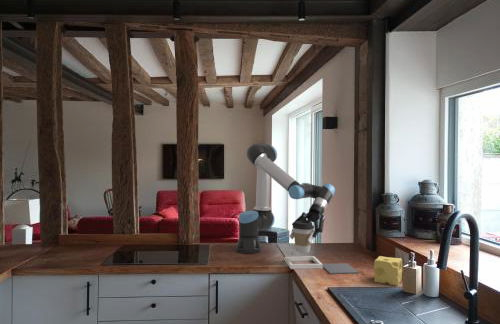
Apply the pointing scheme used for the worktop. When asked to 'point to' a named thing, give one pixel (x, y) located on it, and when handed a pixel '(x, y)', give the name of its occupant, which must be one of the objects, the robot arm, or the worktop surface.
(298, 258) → the holder frame
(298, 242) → the coffee cup
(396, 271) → the cheese
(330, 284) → the worktop surface
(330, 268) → the rubber mat
